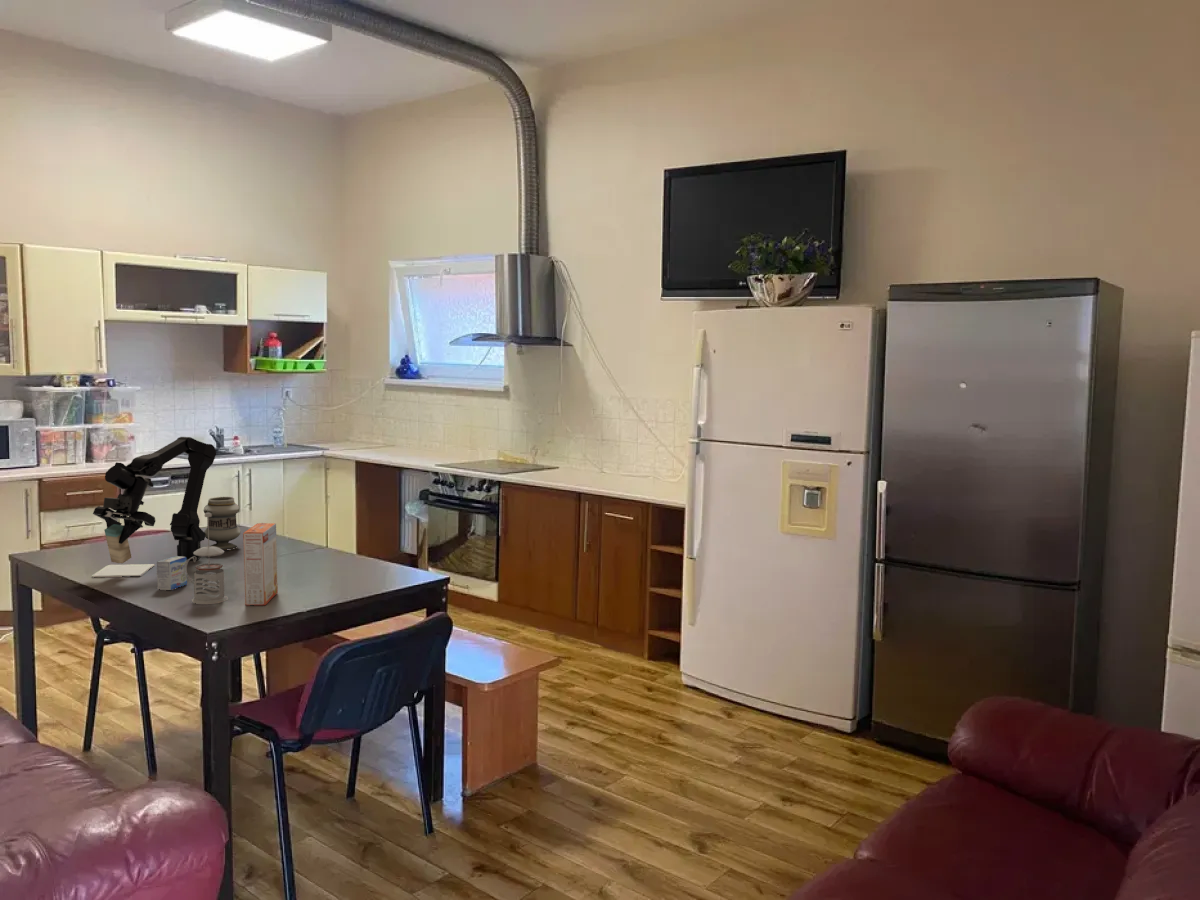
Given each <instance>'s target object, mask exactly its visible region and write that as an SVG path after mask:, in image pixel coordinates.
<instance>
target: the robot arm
mask: <svg viewBox="0 0 1200 900" xmlns="http://www.w3.org/2000/svg"><path fill="white" fill-rule="evenodd" d="M184 453H185V454H186V455H187V461H188V463H189V466H190V468H189V469H190V471H189V472H188V473H189V474H188V479H187V482H186V487H185V491H184V495H183V499H182V504H181V508H180V510H179V511H178V512H177V513H176V512H174V513H173V514H172V515H171V521H170V524H169V526H170V531H171V533H172V537H173V539H174V541H178V544H177V545H176V556H182V557H186V560H188V559H190V558H191V557H193V556H196V555H194V554H193V553H194V551H196V550H198V549H200V548H202V547H201V546H202V545H201V542H203V541H205V538H206V537H205V535H206V534H205V533H204V531H203V529H202V528H201V527H200V523H201V522H200V518H199V515H198V509H199V503H200V500H201V495H202V491H203V486H204V482H205V477H206V474H207V470H208V469H210V468H211V466H212V465H213V464H214V461H215V458H216V456H217V449H216V447H215V445H213V444H211V443H205V442H203V441H200V440H197V439H195V438H193V437H191V436H180V437H178V438H177V439H176V440H173V441H172V442H170V443H168V444H167V445H165V446H163V447H161V448H159V449H158V450H155V452H152V453H147V454H142V455H140V456H137V457H134V458H133V459H132V460H131V462H130V463H128V464H127V465H125V464H124V463H122V462H115V464H114V465H113V466H111V467H110V468H109V469H108V470H107V471H106V472H105V473H104V479H105V481H106V482H107V483H109V484H111V485H113V486H114V487H116V488H118V489H120V490H123V492H122V493H119V494H118V495H117V497H104V498H103V506H100V505H99V506H96V507H94V510H93V513H92V515H94V516H96V517H98V518H99V519H102V520H104V521H105V525H106V528H108V527H110V526H112V525H113V524H117V525H122V523H121V522H120V521H119V519H121V520H123V525H124V528H123V530H122V533H121V536H120V539H119V543H120V544H122V543H123V542H124V541H125V540H126V539H127V538H128V539H129V537H131V536H132V535H133V534H134V533H135V532H136V531H139V529H141V528H143V527H144V525H145V526H146V527H147V526H148V527H154V525H155V524H156V517H155V516H154V515H152V514H150V513H148V512H146V511H139V509H140V506H144V504H145V501H142V500H143V499H144V495H145V493H146V491H147V488H153V487H155V486H154V484H153V482H152V478H146V477H154V476H156V475H157V474H158V473H159V472H160V471H161V470H162V469H163V466H164V465H165V464H166V463H168V462H170V461H171V460H173V459H175V458H176V457H178V456H180V455H181V454H184ZM143 476H144V477H143ZM143 524H144V525H143ZM196 557H197V558H196V561H197V560H199V559H200V558H201V557H202V556H196ZM193 558H194V560H195V557H193ZM193 558H192V559H190V560H189V561H193Z"/></svg>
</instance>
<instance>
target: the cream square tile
mask: <svg viewBox="0 0 1200 900" xmlns="http://www.w3.org/2000/svg"><path fill="white" fill-rule="evenodd" d="M153 566H154V567H155V566H156V564H154V563H150V564H149V563H147V564H145V563H143V564H141V563H140V564H136V563H135V564H133V563H132V564H108V565H106V566H104V567H103V568H101V569H100V570H98V571H97V572H95V573H93V574H92V575H91V579H93V578H94V577H105V578H123V577H122V576H141V575H142V574H144V573H145V572H146V571H148V570H149V569H150V568H152V567H153ZM154 567H153V568H154ZM153 568H152V569H153ZM150 570H151V569H150ZM150 570H149V571H150ZM149 571H148V572H149ZM146 573H147V572H146ZM146 573H145V574H146ZM145 574H144V575H145ZM142 576H143V575H142ZM142 576H141V577H142Z"/></svg>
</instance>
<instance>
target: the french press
mask: <svg viewBox="0 0 1200 900" xmlns="http://www.w3.org/2000/svg"><path fill="white" fill-rule="evenodd" d="M204 517H205V518H207V517H208V539H207V540H208V541H207V546H202V547H201V548H200V549H198V550H196V551H194V553H193V554H194V555H196V556H201V557H215V556H221V555H224V553H225V551H223V550H222V549H220V548H218V547H214V546H211V545H210V540H209V517H212V514H211V513H209V512H208V513H204ZM196 556H193V557H195V560H194V558H193V557H191V558H190V559H192V558H193V560H192V561H193V562H194V563H196V562H197V560H196V558H197V557H196ZM190 559H188V560H187V561H186V563H187V564H186V563H185V565H186V573H187V577H186V575H185V565H184V575H185V577H186V579H187V582H190V583H192V584H193V592H194V593H193V595H194V596H193V598H192V599H191V600H192V602H193V603H192V602H191V603H192V604H195V603H196V604H195V605H214V604H220V603H224V602H226V601H227V600H229V597H228V596H227V595H225V570H224V569H222V567H223V564H221V563H215V562H214V563H212V562H211V561H210V560H208V563H202V564H201V563H200V564H197V565H195V567H194V568H195V569H196V571H194V577H193V578H191V577H190V575H189V574H188V563H189V562H190V561H191V560H190ZM207 573H209V574H207ZM209 586H210V587H209Z"/></svg>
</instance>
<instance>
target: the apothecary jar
mask: <svg viewBox="0 0 1200 900" xmlns="http://www.w3.org/2000/svg"><path fill="white" fill-rule="evenodd" d="M203 512H204V514H205V513H208V512H209V513H211V514H212V517H209V541H212V542H215V543H213V544H211V545H210V546H214V547H218V548H220V549H222V550H227V549H233V548H236V547H237V548H238V546H237V545H236V544H233V543H232V542H230V541H234V540H235V539H238V538H239V536H241V534H242V533H241V528H240V527H239V526H237V514H238V513H239V512H240V506H239V505H238V504H237V503H236V502H235V498H234V497H233V496H217V497H215V496H214V497H210V498H208V501H207V504H206V505H205V506H204V508H203ZM206 518H207V527H206V528H205V530H204V531H203V532H204V533H205V534H206V535H205V538H206V539H207V540H208V517H206ZM237 548H236V549H237Z"/></svg>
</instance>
